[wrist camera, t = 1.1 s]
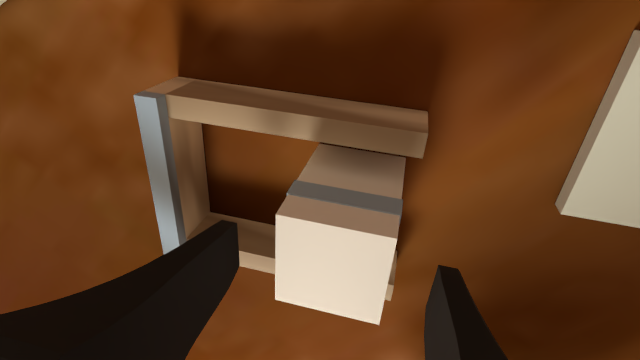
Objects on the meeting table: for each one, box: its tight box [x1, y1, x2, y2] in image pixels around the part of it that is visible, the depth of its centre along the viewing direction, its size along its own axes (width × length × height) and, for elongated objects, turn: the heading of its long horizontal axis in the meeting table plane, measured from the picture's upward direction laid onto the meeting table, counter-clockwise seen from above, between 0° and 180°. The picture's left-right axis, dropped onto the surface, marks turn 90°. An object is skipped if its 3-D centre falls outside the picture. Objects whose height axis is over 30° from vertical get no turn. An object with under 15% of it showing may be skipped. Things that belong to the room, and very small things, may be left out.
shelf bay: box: [134, 77, 428, 301], centre depth 17 cm, size 8×12×3 cm
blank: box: [275, 143, 406, 325], centre depth 15 cm, size 4×4×6 cm
